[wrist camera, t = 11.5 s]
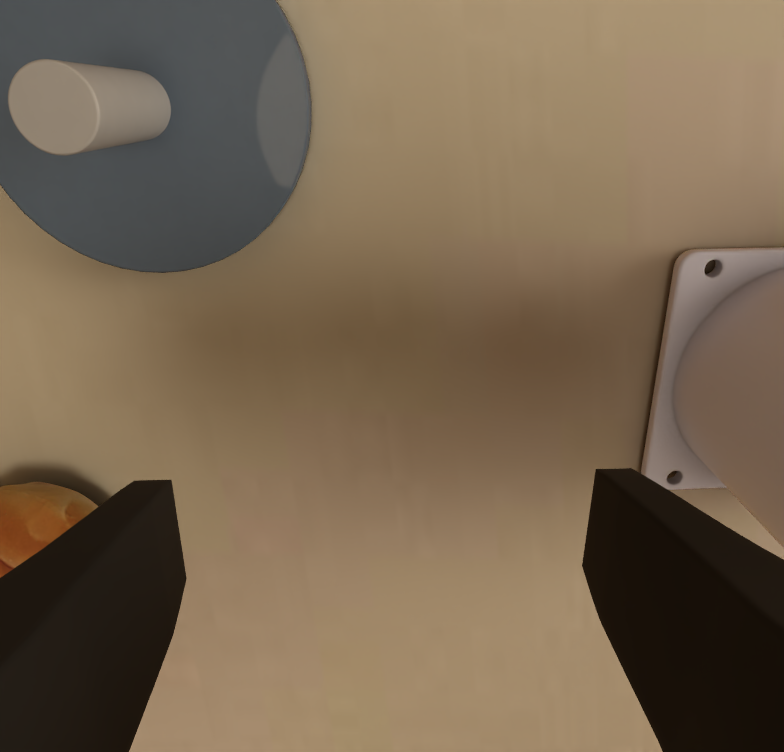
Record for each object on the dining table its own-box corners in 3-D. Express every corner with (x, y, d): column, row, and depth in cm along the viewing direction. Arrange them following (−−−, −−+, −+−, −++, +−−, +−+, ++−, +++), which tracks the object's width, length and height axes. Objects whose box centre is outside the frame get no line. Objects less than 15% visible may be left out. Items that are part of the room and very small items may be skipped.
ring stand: (301, -88, 16) (270, -186, 10) (320, 261, 19) (304, 326, 13) (-61, -88, 15) (-289, -188, 10) (22, 267, 18) (-115, 336, 13)
